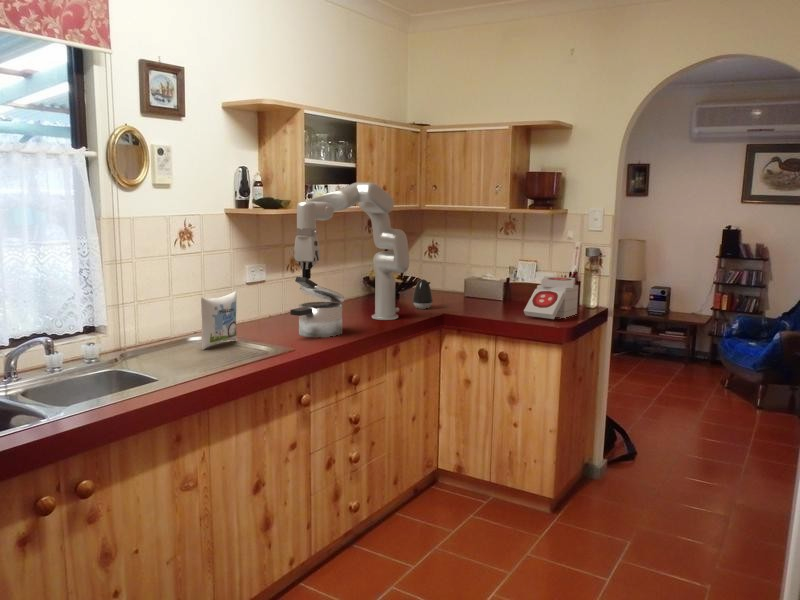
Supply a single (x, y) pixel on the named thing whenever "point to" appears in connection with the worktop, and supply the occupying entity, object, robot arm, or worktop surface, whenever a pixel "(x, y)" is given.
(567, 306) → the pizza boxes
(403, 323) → the worktop surface
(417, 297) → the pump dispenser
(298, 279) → the cooker lid
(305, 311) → the cooker pot
